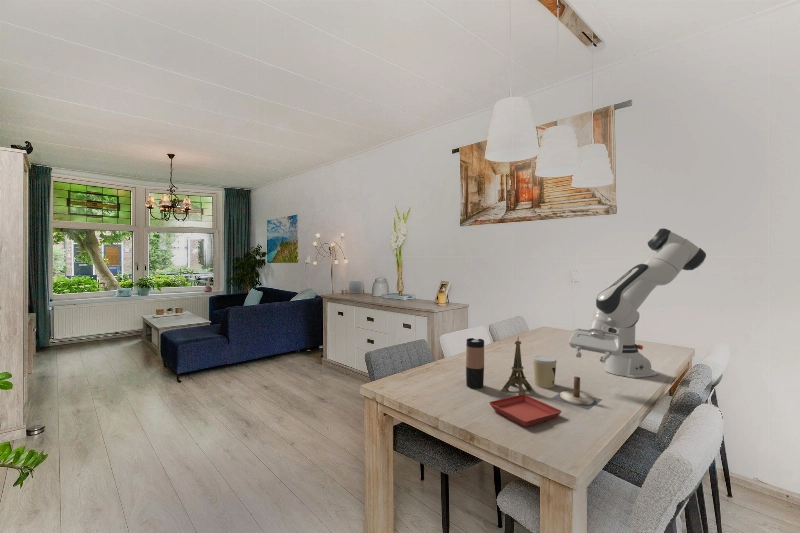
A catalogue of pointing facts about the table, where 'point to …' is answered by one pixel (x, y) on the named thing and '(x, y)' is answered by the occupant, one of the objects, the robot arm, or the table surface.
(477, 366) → the travel mug
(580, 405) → the mat
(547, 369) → the coffee cup
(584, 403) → the lid
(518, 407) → the plant saucer
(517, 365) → the eiffel tower
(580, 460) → the table surface
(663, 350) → the table surface
